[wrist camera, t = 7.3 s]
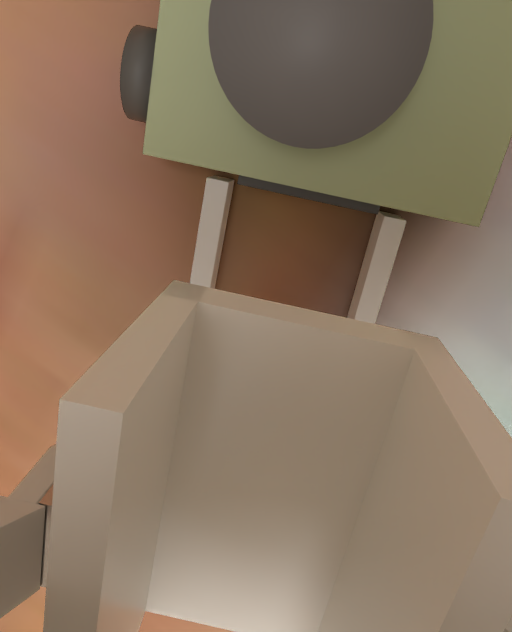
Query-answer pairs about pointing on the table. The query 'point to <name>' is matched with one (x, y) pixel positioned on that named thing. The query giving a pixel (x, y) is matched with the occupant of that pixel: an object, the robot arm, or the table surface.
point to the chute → (277, 478)
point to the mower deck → (381, 162)
